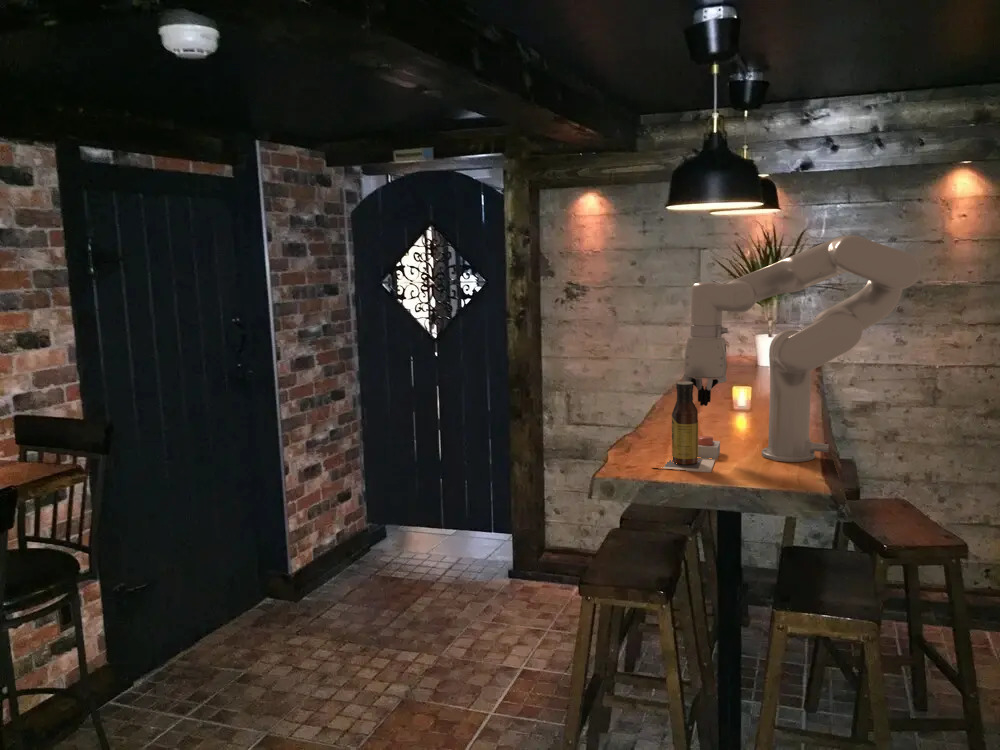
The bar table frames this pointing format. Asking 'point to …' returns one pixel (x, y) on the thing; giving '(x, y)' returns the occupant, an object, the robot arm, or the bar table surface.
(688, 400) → the sauce bottle
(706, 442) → the button
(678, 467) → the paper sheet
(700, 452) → the button housing
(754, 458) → the bar table surface
